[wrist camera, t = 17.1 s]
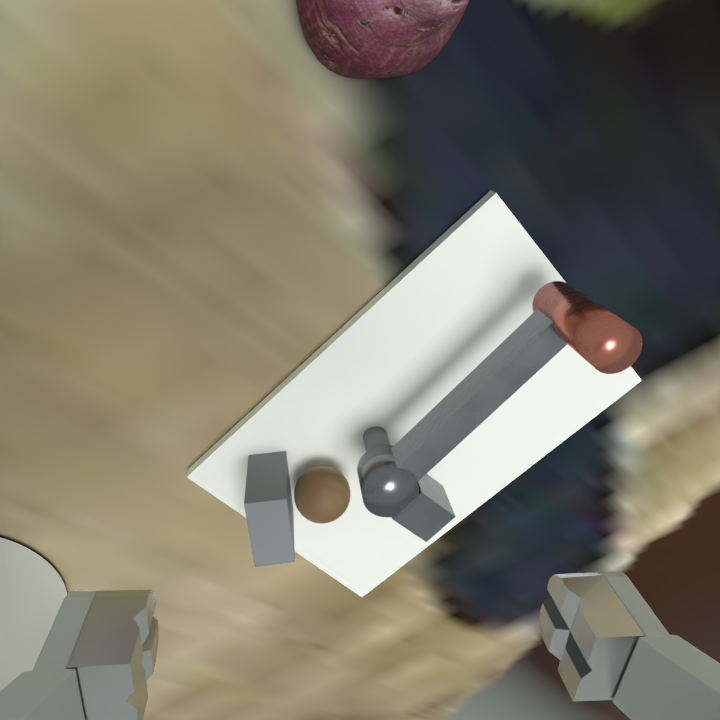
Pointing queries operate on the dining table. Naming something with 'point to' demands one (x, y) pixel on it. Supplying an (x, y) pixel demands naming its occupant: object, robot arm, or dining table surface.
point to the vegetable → (378, 34)
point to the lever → (488, 403)
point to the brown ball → (322, 494)
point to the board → (406, 402)
